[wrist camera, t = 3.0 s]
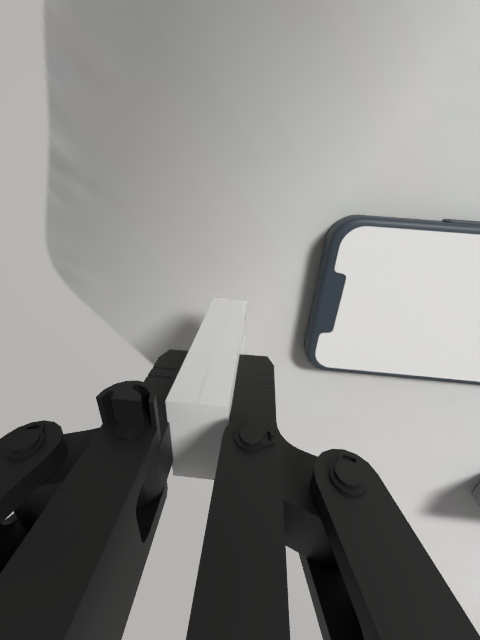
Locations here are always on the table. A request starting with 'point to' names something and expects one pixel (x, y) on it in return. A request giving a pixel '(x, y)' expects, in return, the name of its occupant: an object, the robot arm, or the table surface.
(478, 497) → the grey u-shaped piece
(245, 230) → the table surface
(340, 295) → the smartphone
